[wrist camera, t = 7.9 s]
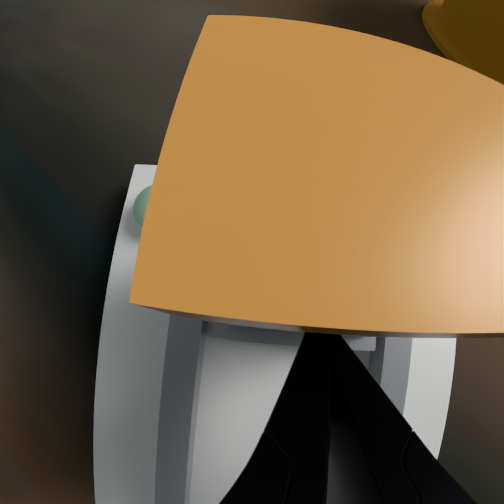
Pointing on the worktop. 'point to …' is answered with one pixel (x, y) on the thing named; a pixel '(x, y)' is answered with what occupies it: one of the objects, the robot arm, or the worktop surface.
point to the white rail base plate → (213, 389)
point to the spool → (469, 33)
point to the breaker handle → (327, 190)
